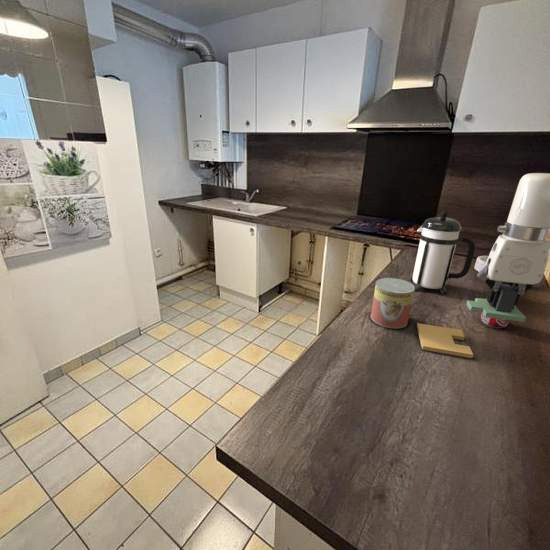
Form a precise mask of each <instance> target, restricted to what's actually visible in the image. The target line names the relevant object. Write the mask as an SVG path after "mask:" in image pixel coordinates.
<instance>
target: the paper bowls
mask: <svg viewBox="0 0 550 550" xmlns="http://www.w3.org/2000/svg"><path fill="white" fill-rule="evenodd" d="M488 256H489V255H479V256H478V257H476V261H475V263H474V267H473V268H474V270H475V271H477V272H478V273H479V272H480V271H481V270H482V269H483V268H484V267H485V265H486V262H487V259H488ZM486 277H488V278H490V277H489V276H488V275H487V276H486ZM490 279H491V278H490Z"/></svg>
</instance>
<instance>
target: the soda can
mask: <svg viewBox="0 0 550 550" xmlns="http://www.w3.org/2000/svg"><path fill="white" fill-rule="evenodd" d="M480 320H481V322H482V323H483V324H484V325H485V326H487V327H490V328H493V329H502V328H503V329H504V328H506V327H507V326H508V324H509V322H510V320H505V319H498V318H490V317H485V316H484V314H483V313H482V312H481V314H480Z"/></svg>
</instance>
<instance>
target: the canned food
mask: <svg viewBox="0 0 550 550" xmlns="http://www.w3.org/2000/svg"><path fill="white" fill-rule="evenodd" d="M415 291H416V290H415V285H414V284H413V283H411V282H409V281H407V280H404V279H402V278H401V279H400V278H397V277H381V278H378V279H377V280H375V286H374V294H373V298H372V304H371V305H372V306H371V310H370V311H371V312H370V319H371V321H373V323H375V324H376V325H378V326H380V327H383V328H388V329H395V330H396V329H402V328H405V327H406V326H407V325H408V323H409V318H410V312H411V309H412V303H413V300H414V299H413V298H414V295H415Z"/></svg>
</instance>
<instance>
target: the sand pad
mask: <svg viewBox="0 0 550 550" xmlns="http://www.w3.org/2000/svg"><path fill="white" fill-rule="evenodd" d="M416 329H417V334H418V338H419V342H420V346H421V350H423V351H428V352H434V353H439V354H445V355H451V356H455V357H462V358H467V359H473V358H474V353H473V351H472V349H471V347H470V346H469V345H463V344H459V343H458V344H457V343H455V341H454V340H457V341H458V340H460V341H465V338H466V337H465V334H464V332H463V330H462V329H457V328H451V327H445V326H439V325H433V324H432V325H431V324H425V323H418V322H417V323H416Z"/></svg>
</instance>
